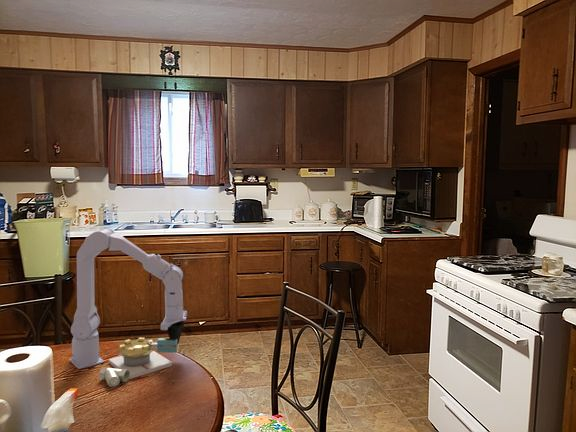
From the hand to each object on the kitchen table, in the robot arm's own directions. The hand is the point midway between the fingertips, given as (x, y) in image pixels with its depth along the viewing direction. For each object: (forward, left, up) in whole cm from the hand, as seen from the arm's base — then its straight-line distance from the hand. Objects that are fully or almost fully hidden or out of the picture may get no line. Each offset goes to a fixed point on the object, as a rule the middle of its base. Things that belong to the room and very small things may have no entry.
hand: (175, 344), depth 150 cm
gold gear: (-1, -9, 0) cm, 9 cm away
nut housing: (-4, -12, -5) cm, 13 cm away
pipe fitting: (+3, -22, -5) cm, 23 cm away
